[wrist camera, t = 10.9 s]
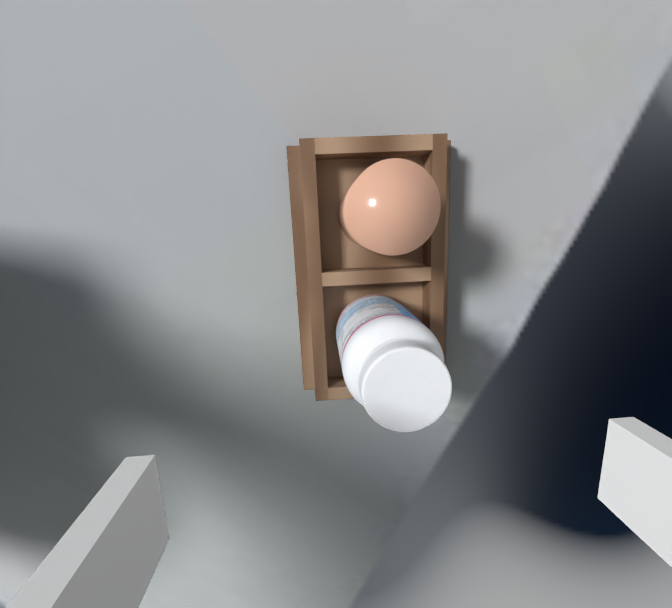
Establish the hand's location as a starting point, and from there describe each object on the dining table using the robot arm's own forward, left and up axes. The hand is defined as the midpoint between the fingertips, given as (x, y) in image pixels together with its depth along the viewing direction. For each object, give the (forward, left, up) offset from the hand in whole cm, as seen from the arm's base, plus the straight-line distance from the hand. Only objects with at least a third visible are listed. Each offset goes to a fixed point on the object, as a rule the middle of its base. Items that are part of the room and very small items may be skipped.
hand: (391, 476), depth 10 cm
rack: (+2, +3, -19) cm, 20 cm away
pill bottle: (+2, -1, -18) cm, 19 cm away
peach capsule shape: (+2, +8, -18) cm, 20 cm away
